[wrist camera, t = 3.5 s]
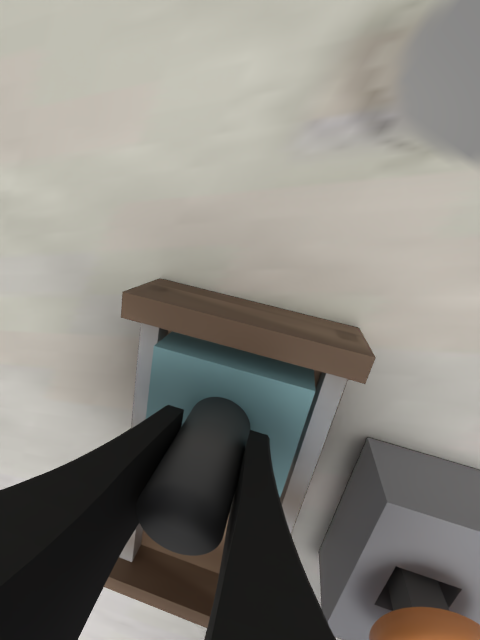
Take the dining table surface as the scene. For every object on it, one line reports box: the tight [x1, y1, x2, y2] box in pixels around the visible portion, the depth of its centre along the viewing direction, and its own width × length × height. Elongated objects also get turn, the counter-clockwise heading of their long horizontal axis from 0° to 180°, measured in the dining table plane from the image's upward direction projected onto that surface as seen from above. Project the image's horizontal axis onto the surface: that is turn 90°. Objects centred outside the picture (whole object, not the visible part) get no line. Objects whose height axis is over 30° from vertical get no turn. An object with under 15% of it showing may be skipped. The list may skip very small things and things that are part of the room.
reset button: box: [369, 567, 480, 640], centre depth 11 cm, size 4×4×4 cm
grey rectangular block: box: [319, 437, 480, 640], centre depth 13 cm, size 8×5×4 cm, turn 169°
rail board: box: [104, 279, 375, 628], centre depth 14 cm, size 17×9×3 cm, turn 169°
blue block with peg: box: [136, 331, 315, 556], centre depth 10 cm, size 5×6×6 cm
